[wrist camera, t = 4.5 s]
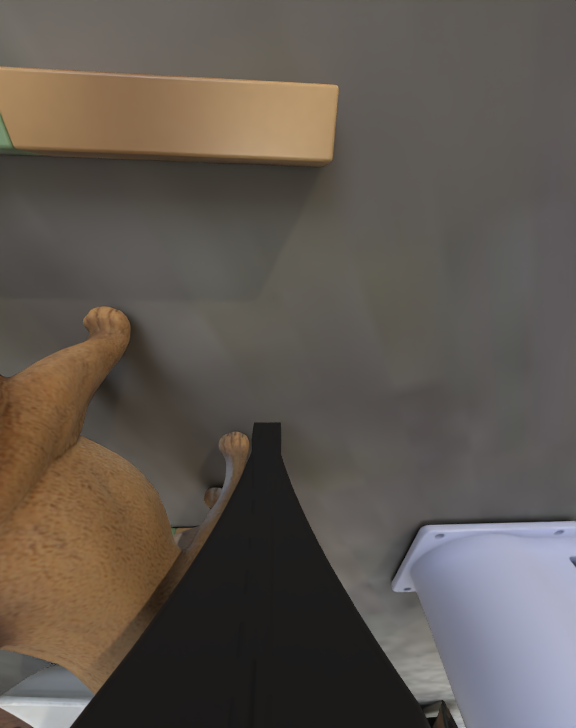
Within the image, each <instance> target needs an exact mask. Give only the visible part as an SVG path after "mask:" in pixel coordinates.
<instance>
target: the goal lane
mask: <svg viewBox="0 0 576 728" xmlns="http://www.w3.org/2000/svg"><path fill="white" fill-rule="evenodd" d="M338 94H339V89H338V86H337V85H331V84H313V83H295V82H276V81H258V80H240V79H221V78H203V77H185V76H166V75H148V74H130V73H111V72H93V71H75V70H56V69H38V68H19V67H1V66H0V154H10V155H35V156H43V155H47V156H60V157H85V158H111V159H136V160H162V161H187V162H213V163H238V164H263V165H289V166H314V167H324V166H325V165H327V164H328V163H330V162H331V161H332V159H333V149H334V138H335V127H336V116H337V105H338ZM188 529H191V528H177V529H176V528H171V530H172V534H173V535H174V534H177V533H180V532H182V531H185V530H188Z"/></svg>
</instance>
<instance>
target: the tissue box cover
mask: <svg viewBox="0 0 576 728" xmlns="http://www.w3.org/2000/svg"><path fill="white" fill-rule="evenodd" d="M31 727H32V726H31V725H29V724H28V723H26V722H25V721H23V720H21V719H20V718H18V717H16V716H15V715H13V714H11V713H9V712H7V711H6V710H4V709H2V708H0V728H31Z"/></svg>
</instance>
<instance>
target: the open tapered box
mask: <svg viewBox="0 0 576 728" xmlns="http://www.w3.org/2000/svg"><path fill="white" fill-rule="evenodd" d="M427 720H428V722H429V724H430V727H431V728H458V727H457V725H456V723H455V721H454V719H453V717H452V715H451V713H450V711H449V710H448V708H447V706H446V704H445V702H444V701H443V700H442V703H441V707H440V710H439V713H438V716H437V717H429V718H427Z"/></svg>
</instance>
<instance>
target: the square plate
mask: <svg viewBox="0 0 576 728" xmlns="http://www.w3.org/2000/svg"><path fill="white" fill-rule="evenodd" d="M94 696H95V695H94V694H93V693H92V692H91V690H90V689H89V688H88V687H87V686H86V685H85V684H84V683H82V682H81V681H80V680H79V679H78V678H77V677H76V676H75V675H74V674H73V673H71V672H70V671H69V670H68V669H66V668H64V667H62V666H60V665H58V664H57V665H54V666H51V667H48V668H45V669H43V670H41V671H39V672H37V673H35V674H33V675H31V676H29V677H28V678H26V679H25V680H23V681H22V682H20V683H19V684H17V685H16V686H14V687H13V688H12V689H10V690H9V691H7V692H6V693H4V694H2V695H1V696H0V708H2V709H4V710H6V711H7V712H9V713H11V714H13V715H15V716H16V717H18V718H20V719H21V720H23V721H25V722H26V723H28V724H29V725H31V726H32V727H34V728H70V727H71V725H72V724H73V723H74V721H75V720H76V719H77V717H78V716H79V715H80V714H81V712H82V711H83V710H84V708H85V707H86V706H87V705H88V703H89V702H90V701H91V700H92V698H93V697H94Z"/></svg>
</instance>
